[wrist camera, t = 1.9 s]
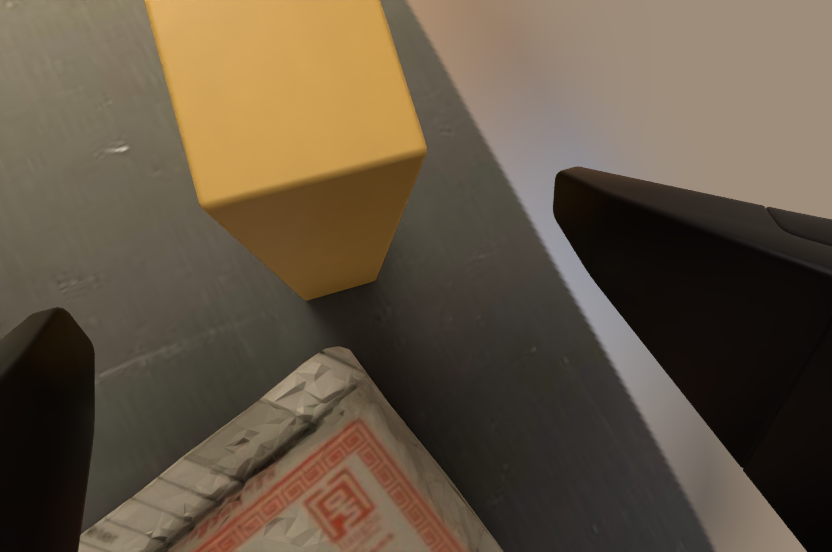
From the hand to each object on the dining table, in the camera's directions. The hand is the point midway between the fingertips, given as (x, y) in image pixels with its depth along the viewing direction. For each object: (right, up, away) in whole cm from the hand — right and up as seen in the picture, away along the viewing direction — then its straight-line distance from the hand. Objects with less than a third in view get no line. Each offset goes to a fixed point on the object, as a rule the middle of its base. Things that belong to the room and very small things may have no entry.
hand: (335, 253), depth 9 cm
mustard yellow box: (-2, +1, +10) cm, 10 cm away
